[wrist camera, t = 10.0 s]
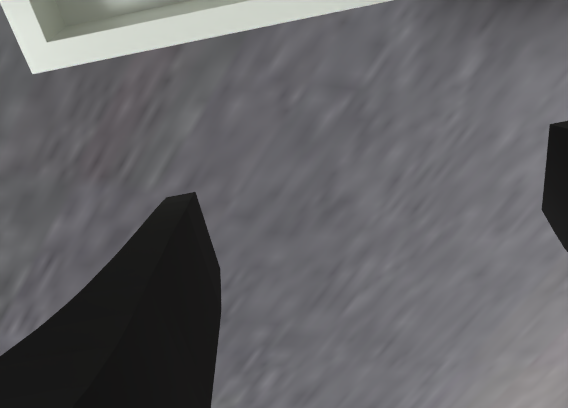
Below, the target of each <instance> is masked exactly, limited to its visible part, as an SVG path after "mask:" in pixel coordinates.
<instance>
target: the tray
mask: <svg viewBox="0 0 568 408" xmlns="http://www.w3.org/2000/svg"><path fill="white" fill-rule="evenodd" d="M387 1H392V0H0V3H1V6H2V8H3V10H4V12H5V14H6V17H7V19H8V21H9V23H10V26H11V28H12V30H13V32H14V34H15V37H16V39H17V41H18V43H19V45H20V48H21V50H22V52H23V54H24V56H25V59H26V61H27V63H28V65H29V67H30V70H31V72H32V74H35V73H40V72H45V71H50V70H55V69H60V68H65V67H70V66H74V65H79V64H84V63H89V62H94V61H99V60H104V59H109V58H114V57H118V56H123V55H128V54H133V53H138V52H143V51H148V50H153V49H157V48H162V47H167V46H172V45H177V44H182V43H187V42H192V41H196V40H201V39H206V38H211V37H216V36H221V35H226V34H231V33H236V32H240V31H245V30H250V29H255V28H260V27H265V26H270V25H275V24H279V23H284V22H289V21H294V20H299V19H304V18H309V17H314V16H319V15H323V14H328V13H333V12H338V11H343V10H348V9H353V8H358V7H362V6H367V5H372V4H377V3H382V2H387Z"/></svg>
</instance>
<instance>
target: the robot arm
mask: <svg viewBox="0 0 568 408" xmlns="http://www.w3.org/2000/svg"><path fill="white" fill-rule="evenodd" d="M542 211H543V213H544V215H545V216H546V218H547V220H548V222H549V223H550V225H551V227H552V229H553V230H554V232H555V234H556V235H557V237H558V239H559V240H560V242H561V243H562V245H563V247H564V248H565V249H566V251H567V252H568V121H565V122H559V123H554V124H550V128H549V139H548V149H547V160H546V171H545V181H544V192H543V203H542ZM220 318H221V279H220V267H219V264H218V261H217V258H216V254H215V251H214V248H213V245H212V242H211V239H210V236H209V233H208V230H207V227H206V223H205V220H204V217H203V214H202V211H201V208H200V205H199V202H198V199H197V195H196V192H193V193H188V194H182V195H177V196H172V197H167V198H166V199H165V200H164V201H163V202H162V203H161V204H160V205H159V206H158V207H157V208H156V209H155V210H154V212H153V213H152V214H151V215H150V216H149V217H148V219H147V220H146V221H145V222H144V223H143V225H142V226H141V227H140V228H139V229H138V230H137V232H136V233H135V234H134V235H133V236H132V237H131V238H130V240H129V241H128V242H127V243H126V244H125V245H124V246H123V248H122V249H121V250H120V251H119V252H118V253H117V254H116V255H115V256H114V257H113V258H112V260H111V261H110V262H109V263H108V264H107V265H106V266H105V267H104V268H103V269H102V270H101V271H100V272H99V273H98V274H97V275H96V276H95V277H94V278H93V279H92V280H91V281H90V282H89V283H88V284H87V285H86V286H85V287H84V288H83V289H82V290H81V291H80V292H79V293H78V294H77V295H76V296H75V297H74V298H73V299H72V300H70V301H69V302H68V303H67V304H66V305H65V306H64V307H63V308H61V309H60V310H59V311H58V312H57V313H56V314H54V315H53V316H52V317H51V318H50V319H48V320H47V321H46V322H45V323H44V324H43V325H41V326H40V327H39V328H38V329H36V330H35V331H34V332H32V333H31V334H30V335H28V336H27V337H26V338H24V339H23V340H22V341H20V342H19V343H18V344H16V345H15V346H14V347H12V348H11V349H10V350H8V351H7V352H5V353H4V354H3V355H1V356H0V408H211V399H212V390H213V382H214V373H215V364H216V355H217V346H218V337H219V328H220Z"/></svg>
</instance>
